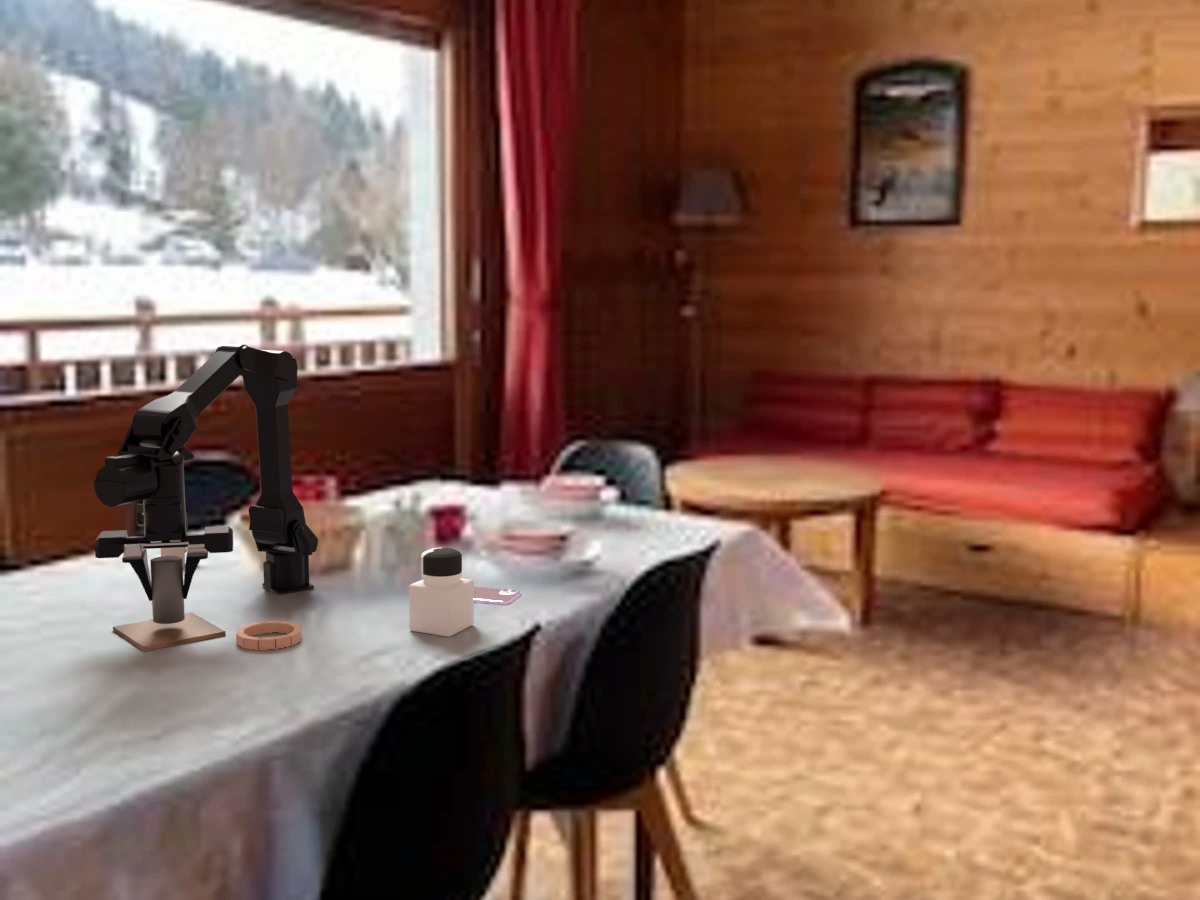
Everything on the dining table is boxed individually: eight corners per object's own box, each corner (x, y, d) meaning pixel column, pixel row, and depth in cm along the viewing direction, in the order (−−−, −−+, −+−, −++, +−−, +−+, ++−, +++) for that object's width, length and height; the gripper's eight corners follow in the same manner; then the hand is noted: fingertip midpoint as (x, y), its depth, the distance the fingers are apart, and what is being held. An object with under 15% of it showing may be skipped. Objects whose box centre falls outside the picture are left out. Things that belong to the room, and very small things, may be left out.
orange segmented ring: (283, 627, 190) (283, 617, 190) (312, 641, 184) (312, 631, 183) (226, 638, 185) (226, 628, 184) (254, 654, 178) (253, 643, 178)
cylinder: (177, 613, 189) (175, 554, 188) (189, 620, 186) (187, 560, 185) (148, 618, 187) (145, 558, 185) (159, 625, 183) (157, 564, 182)
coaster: (192, 616, 195) (192, 612, 195) (225, 635, 186) (225, 631, 186) (113, 630, 187) (113, 626, 187) (143, 651, 178) (143, 646, 178)
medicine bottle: (474, 625, 193) (474, 547, 191) (449, 637, 187) (449, 558, 185) (434, 618, 196) (433, 542, 194) (408, 631, 190) (407, 552, 188)
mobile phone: (439, 581, 215) (523, 589, 211) (439, 587, 215) (523, 595, 211) (420, 593, 208) (507, 601, 204) (421, 599, 208) (507, 607, 204)
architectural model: (174, 561, 230) (173, 520, 229) (203, 566, 227) (202, 525, 226) (160, 565, 227) (158, 524, 226) (189, 570, 224) (188, 528, 223)
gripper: (232, 481, 194) (235, 581, 196) (100, 486, 189) (105, 588, 191) (231, 496, 183) (234, 601, 185) (92, 501, 178) (97, 609, 181)
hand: (168, 599), depth 186 cm, fingers closed on cylinder, 4 cm apart
